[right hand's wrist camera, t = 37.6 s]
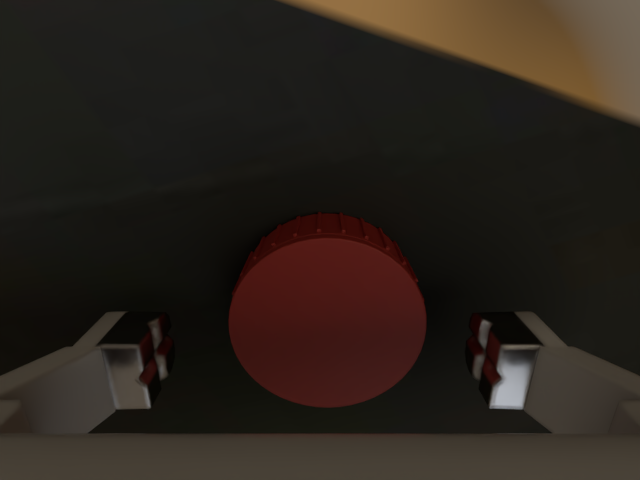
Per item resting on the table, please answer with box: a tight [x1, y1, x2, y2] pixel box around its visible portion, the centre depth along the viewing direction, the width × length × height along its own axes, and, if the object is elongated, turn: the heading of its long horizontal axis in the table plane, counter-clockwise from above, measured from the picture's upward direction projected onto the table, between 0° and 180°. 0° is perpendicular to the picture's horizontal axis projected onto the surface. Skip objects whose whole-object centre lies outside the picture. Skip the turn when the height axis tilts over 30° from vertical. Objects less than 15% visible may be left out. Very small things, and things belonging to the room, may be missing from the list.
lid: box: [228, 212, 427, 407], centre depth 12 cm, size 6×6×2 cm
